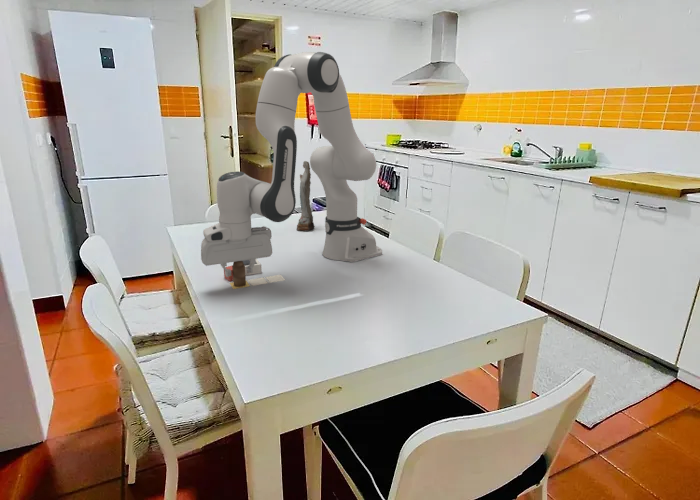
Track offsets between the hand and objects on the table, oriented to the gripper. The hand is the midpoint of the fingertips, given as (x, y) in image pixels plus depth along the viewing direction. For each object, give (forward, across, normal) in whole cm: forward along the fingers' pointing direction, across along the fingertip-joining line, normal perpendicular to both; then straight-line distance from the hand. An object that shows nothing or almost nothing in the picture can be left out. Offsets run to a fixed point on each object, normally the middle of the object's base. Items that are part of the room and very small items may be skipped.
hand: (239, 274), depth 126 cm
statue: (+5, -41, -52) cm, 66 cm away
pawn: (+3, 0, 0) cm, 3 cm away
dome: (+3, -5, -10) cm, 12 cm away
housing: (+3, -5, -10) cm, 12 cm away
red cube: (+3, +1, -6) cm, 7 cm away
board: (+4, -6, -5) cm, 9 cm away
